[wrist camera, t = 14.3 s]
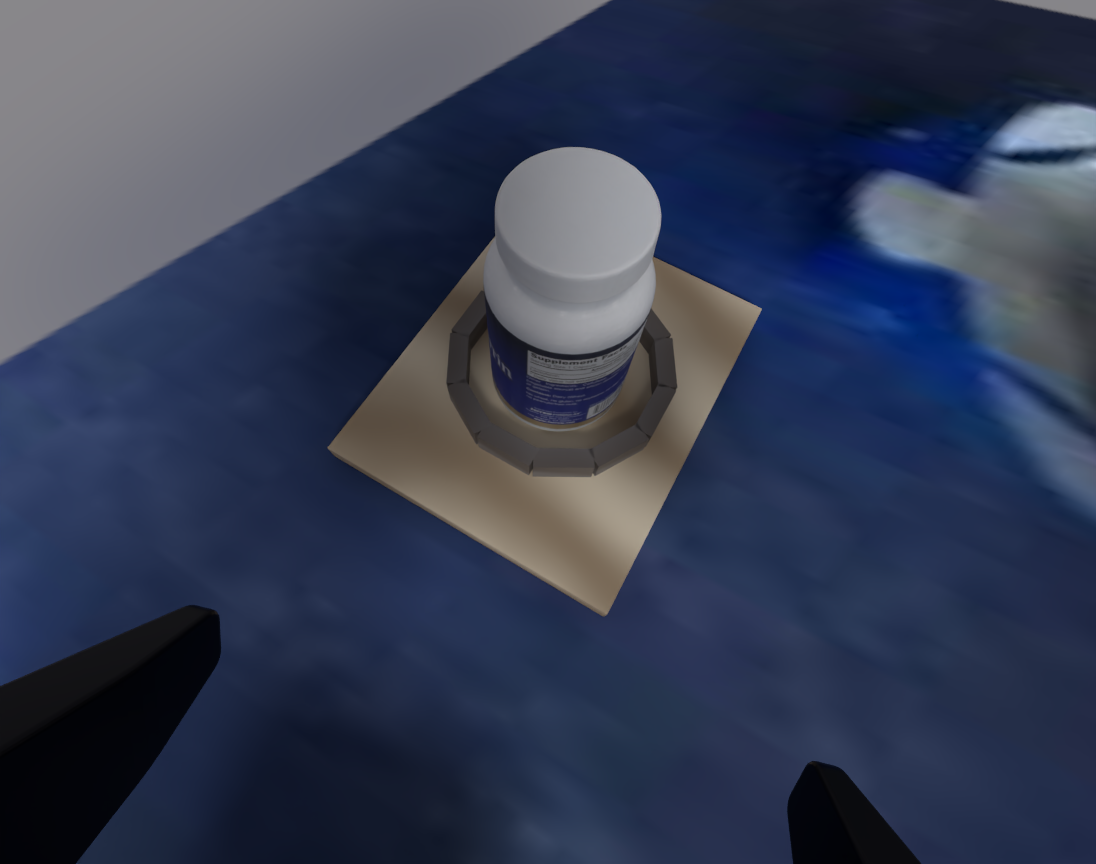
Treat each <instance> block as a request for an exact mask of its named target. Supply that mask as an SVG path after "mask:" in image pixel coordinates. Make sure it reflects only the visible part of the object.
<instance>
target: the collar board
mask: <svg viewBox="0 0 1096 864" xmlns="http://www.w3.org/2000/svg"><path fill="white" fill-rule="evenodd" d="M495 237H496V236H495ZM495 237H494V238H493V239H492V241H491V242H490V243H489V244H488V246H487V247H486V248H485V249H484V251H483V252H482V253H481V254H480V256H479V257H478V258H477V260H476V261H475V262H474V263H473V265H472V266H471V267H470V268H469V270H468V271H467V272H466V273H465V275H464V276H463V277H462V278H461V280H460V281H459V282H458V284H457V285H456V286H455V287H454V289H453V290H452V291H451V292H450V294H449V295H448V296H447V297H446V299H445V300H444V301H443V302H442V304H441V305H440V306H439V308H438V309H437V310H436V311H435V313H434V314H433V315H432V316H431V318H430V319H429V320H428V321H427V323H426V324H425V325H424V326H423V328H422V329H421V330H420V332H419V333H418V334H417V335H416V337H415V338H414V339H413V340H412V342H411V343H410V344H409V345H408V347H407V348H406V349H405V350H404V352H403V353H402V354H401V356H400V357H399V358H398V359H397V361H396V362H395V363H394V364H393V366H392V367H391V368H390V369H389V371H388V372H387V373H386V374H385V376H384V377H383V378H382V380H381V381H380V382H379V383H378V385H377V386H376V387H375V388H374V390H373V391H372V392H371V393H370V395H369V396H368V397H367V398H366V400H365V401H364V402H363V403H362V405H361V406H360V407H359V409H358V410H357V411H356V412H355V414H354V415H353V416H352V417H351V419H350V420H349V421H348V422H347V424H346V425H345V426H344V427H343V429H342V430H341V431H340V433H339V434H338V435H337V436H336V438H335V439H334V440H333V441H332V443H331V444H330V445H329V446H328V449H329V450H330V452H331V453H332V454H333V455H334V456H335V457H337V458H339V459H340V460H342V461H344V462H345V463H347V464H349V465H350V466H352V467H354V468H355V469H357V470H359V471H360V472H362V473H364V474H365V475H367V476H369V477H370V478H372V479H374V480H375V481H377V482H379V483H380V484H382V485H384V486H385V487H387V488H389V489H390V490H392V491H394V492H395V493H397V494H399V495H401V496H402V497H404V498H406V499H407V500H409V501H411V502H412V503H414V504H416V505H417V506H419V507H421V508H422V509H424V510H426V511H427V512H429V513H431V514H432V515H434V516H436V517H437V518H439V519H441V520H442V521H444V522H446V523H447V524H449V525H451V526H452V527H454V528H456V529H457V530H459V531H461V532H462V533H464V534H466V535H467V536H469V537H471V538H473V539H474V540H476V541H478V542H479V543H481V544H483V545H484V546H486V547H488V548H489V549H491V550H493V551H494V552H496V553H498V554H499V555H501V556H503V557H504V558H506V559H508V560H509V561H511V562H513V563H514V564H516V565H518V566H519V567H521V568H523V569H524V570H526V571H528V572H529V573H531V574H533V575H534V576H536V577H538V578H540V579H541V580H543V581H545V582H546V583H548V584H550V585H551V586H553V587H555V588H556V589H558V590H560V591H561V592H563V593H565V594H566V595H568V596H570V597H571V598H573V599H575V600H576V601H578V602H580V603H581V604H583V605H585V606H586V607H588V608H590V609H591V610H593V611H595V612H596V613H598V614H600V615H601V616H603V617H604V616H605V615H607V614H608V612H609V610H610V608H611V606H612V604H613V602H614V600H615V598H616V596H617V594H618V592H619V590H620V588H621V586H622V584H623V582H624V580H625V578H626V576H627V574H628V572H629V570H630V568H631V566H632V564H633V562H634V560H635V558H636V556H637V554H638V552H639V551H640V549H641V547H642V545H643V543H644V541H645V539H646V537H647V535H648V533H649V531H650V529H651V527H652V525H653V523H654V521H655V519H656V517H657V515H658V513H659V511H660V509H661V507H662V505H663V503H664V501H665V499H666V497H667V495H668V493H669V491H670V489H671V487H672V485H673V483H674V481H675V480H676V478H677V476H678V474H679V472H680V470H681V468H682V466H683V464H684V462H685V460H686V458H687V456H688V454H689V452H690V450H691V448H692V446H693V444H694V442H695V440H696V438H697V436H698V434H699V432H700V430H701V428H702V426H703V424H704V422H705V420H706V418H707V416H708V414H709V412H710V410H711V409H712V407H713V405H714V403H715V401H716V399H717V397H718V395H719V393H720V391H721V389H722V387H723V385H724V383H725V381H726V379H727V377H728V375H729V373H730V371H731V369H732V367H733V365H734V363H735V361H736V359H737V357H738V355H739V353H740V351H741V349H742V347H743V345H744V343H745V341H746V340H747V338H748V336H749V334H750V332H751V330H752V328H753V326H754V324H755V322H756V320H757V318H758V316H759V314H760V312H761V310H762V309H761V308H759V307H757V306H755V305H753V304H751V303H749V302H747V301H745V300H743V299H741V298H738V297H736V296H734V295H732V294H730V293H728V292H726V291H724V290H722V289H720V288H718V287H715V286H713V285H711V284H709V283H707V282H705V281H703V280H701V279H699V278H697V277H695V276H692V275H690V274H688V273H686V272H684V271H682V270H680V269H678V268H676V267H674V266H672V265H669V264H667V263H665V262H663V261H661V260H659V259H657V258H655V257H653V258H652V260H653V263H654V268H655V274H656V288H655V295H654V300H653V303H652V307H651V310H650V313H649V316H648V318H647V321H646V323H645V326H644V329H643V332H642V334H641V337H640V340H639V342H638V345H637V348H636V350H635V353H634V356H633V359H632V361H631V364H630V367H629V370H628V373H627V376H626V378H625V381H624V383H623V386H622V389H621V391H620V394H619V396H618V398H617V399H616V401H615V403H614V404H613V406H612V407H611V408H610V409H609V411H608V412H607V413H606V414H604V415H603V416H602V417H601V418H600V419H598V420H597V421H595V422H594V423H592V424H590V425H587V426H585V427H582V428H579V429H576V430H570V431H548V430H543V429H539V428H536V427H533V426H531V425H529V424H527V423H525V422H523V421H521V420H519V419H518V418H517V417H515V416H514V415H513V414H512V413H511V412H510V411H509V410H508V409H507V408H506V407H505V406H504V404H503V403H502V401H501V400H500V398H499V396H498V394H497V392H496V389H495V386H494V383H493V378H492V369H491V358H490V347H489V336H488V326H487V316H486V306H485V296H484V286H483V273H484V264H485V260H486V256H487V253H488V250H489V248H490V245H491V244H492V242H493V240H494V239H495Z"/></svg>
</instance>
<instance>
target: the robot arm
mask: <svg viewBox="0 0 1096 864" xmlns="http://www.w3.org/2000/svg"><path fill="white" fill-rule="evenodd" d="M220 654H221V638H220V618H219V615H218V613H217V612H216V611H215V610H212V609H208V608H204V607H200V606H196V605H189V606H185V607H182V608H180V609H178V610H175V611H173V612H171V613H168V614H166V615H164V616H162V617H159V618H157V619H155V620H152V621H150V622H148V623H145V624H143V625H141V626H138V627H136V628H134V629H131V630H129V631H127V632H125V633H122V634H120V635H118V636H115V637H113V638H111V639H108V640H106V641H104V642H101V643H99V644H97V645H94V646H92V647H90V648H87V649H85V650H83V651H81V652H78V653H76V654H74V655H71V656H69V657H67V658H64V659H62V660H60V661H57V662H55V663H53V664H50V665H48V666H46V667H44V668H41V669H39V670H37V671H34V672H32V673H30V674H27V675H25V676H23V677H20V678H18V679H16V680H13V681H11V682H9V683H6V684H4V685H2V686H0V864H76V863H77V861H78V860H79V859H80V857H81V856H82V855H83V854H84V852H85V851H86V850H87V848H88V847H89V846H90V845H91V843H92V842H93V841H94V839H95V838H96V837H97V836H98V834H99V833H100V832H101V830H102V829H103V828H104V827H105V825H106V824H107V823H108V822H109V820H110V819H111V818H112V816H113V815H114V814H115V813H116V811H117V810H118V809H119V807H120V806H121V805H122V804H123V802H124V801H125V800H126V798H127V797H128V796H129V795H130V793H131V792H132V791H133V789H134V788H135V787H136V786H137V784H138V783H139V782H140V780H141V779H142V778H143V776H144V775H145V774H146V772H147V771H148V770H149V768H150V767H151V766H152V764H153V763H154V761H155V760H156V758H157V757H158V755H159V754H160V752H161V751H162V749H163V748H164V746H165V745H166V743H167V742H168V740H169V738H170V737H171V735H172V734H173V732H174V731H175V729H176V728H177V726H178V725H179V723H180V721H181V720H182V718H183V717H184V715H185V714H186V712H187V711H188V709H189V708H190V706H191V704H192V703H193V701H194V700H195V698H196V697H197V695H198V694H199V692H200V690H201V689H202V687H203V686H204V684H205V683H206V681H207V680H208V678H209V677H210V675H211V673H212V672H213V670H214V669H215V667H216V665H217V663H218V661H219V658H220ZM787 813H788V823H789V832H790V841H791V849H792V858H793V864H921V863H920V862H919V860H918V859H917V858H916V857H915V856H914V854H913V853H912V852H911V851H910V850H909V848H908V847H907V846H906V845H905V844H904V842H903V841H902V840H901V839H900V838H899V836H898V835H897V834H896V833H895V832H894V830H893V829H892V828H891V827H890V826H889V824H888V823H887V822H886V821H885V820H884V818H883V817H882V816H881V815H880V814H879V812H878V811H877V810H876V809H875V808H874V806H873V805H872V804H871V803H870V802H869V800H868V799H867V798H866V797H865V796H864V794H863V793H862V792H861V791H860V790H859V788H858V787H857V786H856V785H855V784H854V782H853V781H852V780H851V779H850V778H849V776H848V775H847V774H846V773H845V772H844V771H843V770H842V769H840V768H839V767H837V766H833V765H829V764H825V763H821V762H817V761H811V762H810V763H808V764H807V765H806V767H805V769H804V770H803V772H802V774H801V776H800V778H799V779H798V781H797V783H796V785H795V787H794V789H793V790H792V792H791V794H790V797H789V800H788V807H787Z"/></svg>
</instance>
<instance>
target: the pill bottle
mask: <svg viewBox="0 0 1096 864" xmlns="http://www.w3.org/2000/svg"><path fill="white" fill-rule="evenodd" d="M660 227H661V210H660V204H659V200H658V198H657V195H656V193H655V191H654V189H653V188H652V186H651V184H650V183H649V181H648V180H647V179H646V178H645V177H644V176H643V175H642V173H641V172H639V171H638V170H637V169H636V168H635V167H634V166H632V165H631V164H629V163H628V162H626V161H624V160H622V159H621V158H619V157H617V156H615V155H612V154H609V153H607V152H603V151H599V150H596V149H590V148H583V147H565V148H557V149H551V150H548V151H545V152H542V153H539V154H537V155H534V156H532V157H530V158H528V159H526V160H525V161H523V162H522V163H520V164H519V165H518V166H517V167H516V168H515V169H513V170H512V171H511V172H510V173H509V175H508V176H507V177H506V178H505V180H504V182H503V183H502V185H501V187H500V189H499V192H498V195H497V198H496V203H495V236H496V237H495V239H494V240H493V242H492V244H491V245H490V248H489V250H488V253H487V256H486V260H485V264H484V273H483V286H484V296H485V306H486V316H487V326H488V336H489V347H490V358H491V369H492V378H493V383H494V386H495V389H496V392H497V394H498V396H499V398H500V400H501V401H502V403H503V404H504V406H505V407H506V408H507V409H508V410H509V411H510V412H511V413H512V414H513V415H514V416H515V417H517V418H518V419H519V420H521V421H523V422H525V423H527V424H529V425H531V426H533V427H536V428H539V429H543V430H548V431H570V430H576V429H579V428H582V427H585V426H587V425H590V424H592V423H594V422H595V421H597V420H598V419H600V418H601V417H602V416H603V415H604V414H606V413H607V412H608V411H609V409H610V408H611V407H612V406H613V404H614V403H615V401H616V399H617V398H618V396H619V394H620V391H621V389H622V386H623V383H624V381H625V378H626V376H627V373H628V370H629V367H630V364H631V361H632V359H633V356H634V353H635V350H636V348H637V345H638V342H639V340H640V337H641V334H642V332H643V329H644V326H645V323H646V321H647V318H648V316H649V313H650V310H651V307H652V303H653V300H654V295H655V288H656V274H655V268H654V263H653V260H652V258H653V254H654V250H655V246H656V242H657V239H658V235H659V231H660Z"/></svg>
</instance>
